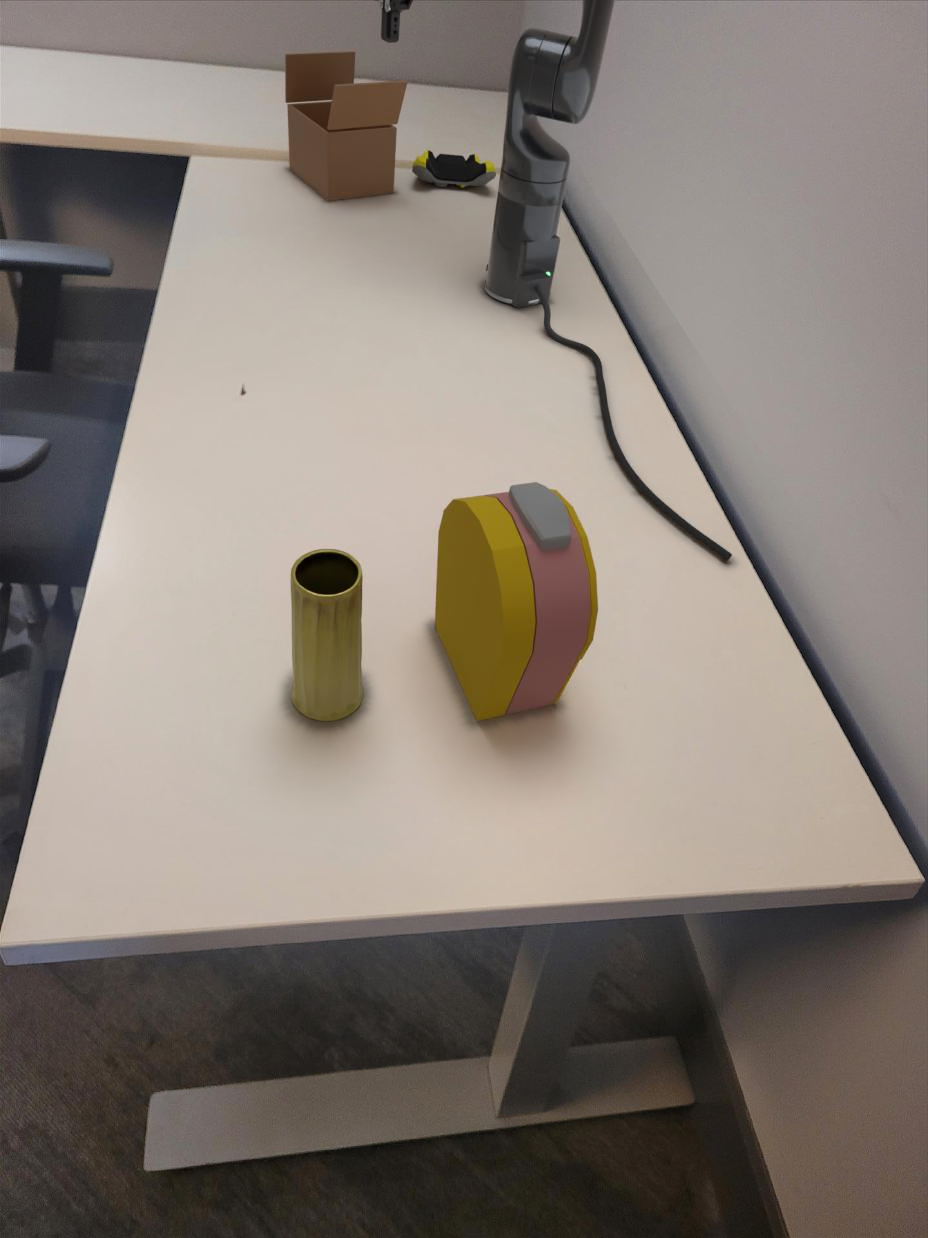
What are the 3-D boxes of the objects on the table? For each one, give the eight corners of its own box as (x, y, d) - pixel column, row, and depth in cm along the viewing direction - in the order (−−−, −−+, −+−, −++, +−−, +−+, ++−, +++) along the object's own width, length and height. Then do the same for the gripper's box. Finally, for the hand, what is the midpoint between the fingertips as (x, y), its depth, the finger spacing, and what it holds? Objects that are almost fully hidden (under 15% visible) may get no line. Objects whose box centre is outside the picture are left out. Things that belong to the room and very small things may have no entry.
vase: (362, 665, 75) (366, 544, 65) (365, 721, 71) (370, 601, 61) (291, 667, 74) (285, 543, 64) (290, 723, 70) (283, 601, 60)
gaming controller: (494, 197, 155) (487, 177, 161) (498, 165, 151) (491, 145, 157) (412, 191, 152) (408, 171, 159) (414, 158, 148) (410, 138, 155)
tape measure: (572, 717, 74) (624, 561, 60) (483, 737, 71) (518, 579, 58) (508, 598, 83) (542, 440, 70) (428, 612, 80) (448, 451, 67)
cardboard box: (393, 192, 151) (399, 77, 138) (327, 200, 145) (327, 81, 132) (351, 160, 159) (353, 49, 147) (287, 167, 154) (283, 52, 141)
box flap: (396, 122, 143) (397, 124, 143) (327, 128, 137) (328, 129, 137) (406, 80, 137) (407, 81, 137) (334, 84, 131) (335, 85, 131)
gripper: (445, -101, 112) (434, 52, 124) (395, -120, 119) (389, 28, 131) (396, -104, 109) (389, 54, 121) (347, -123, 116) (346, 29, 128)
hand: (389, 40), depth 126 cm, fingers closed
